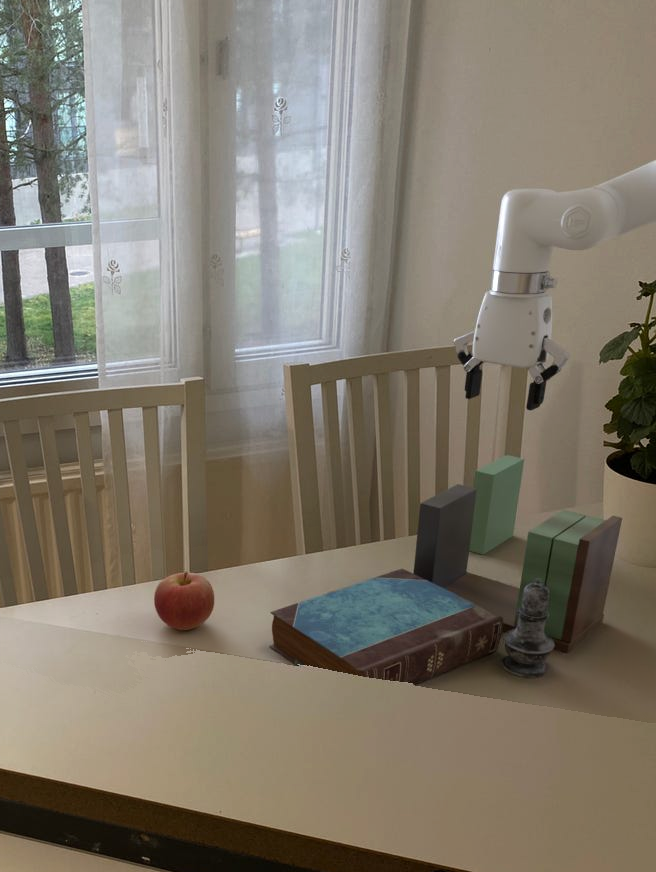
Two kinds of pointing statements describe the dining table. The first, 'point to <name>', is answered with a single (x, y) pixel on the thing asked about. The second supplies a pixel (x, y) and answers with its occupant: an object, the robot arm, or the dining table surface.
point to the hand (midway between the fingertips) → (501, 402)
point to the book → (386, 629)
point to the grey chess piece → (529, 635)
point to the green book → (495, 503)
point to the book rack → (544, 557)
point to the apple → (184, 600)
